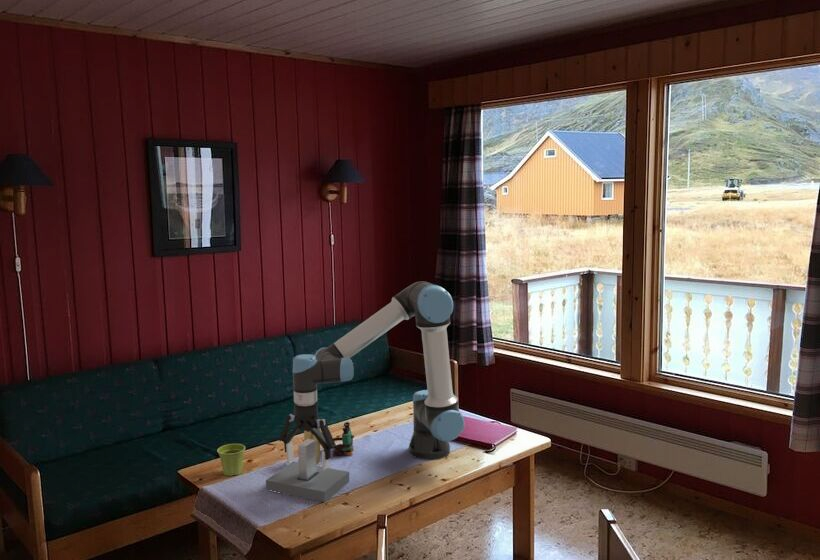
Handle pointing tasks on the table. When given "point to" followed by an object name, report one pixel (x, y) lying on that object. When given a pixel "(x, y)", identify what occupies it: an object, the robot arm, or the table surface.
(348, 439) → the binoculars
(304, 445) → the aluminium bar
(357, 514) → the table surface
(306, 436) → the brass peg
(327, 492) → the slot plate
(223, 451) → the plant pot
